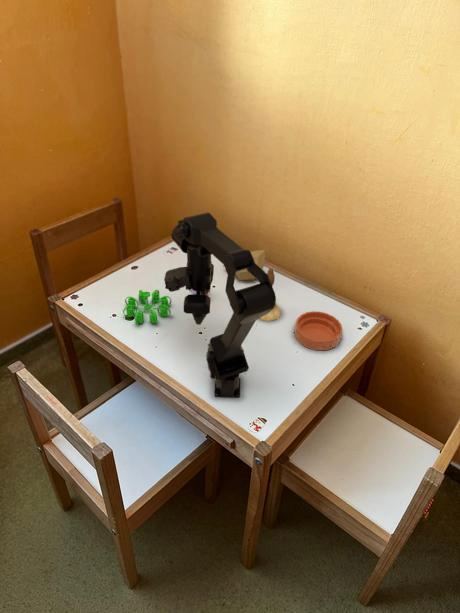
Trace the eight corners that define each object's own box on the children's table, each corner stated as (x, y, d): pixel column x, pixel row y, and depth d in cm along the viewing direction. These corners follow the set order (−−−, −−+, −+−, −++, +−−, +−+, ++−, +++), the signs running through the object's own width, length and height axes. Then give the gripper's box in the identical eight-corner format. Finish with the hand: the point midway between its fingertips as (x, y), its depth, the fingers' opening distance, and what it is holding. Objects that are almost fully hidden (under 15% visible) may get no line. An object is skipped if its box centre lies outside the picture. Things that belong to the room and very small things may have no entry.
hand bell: (257, 322, 140) (261, 279, 130) (250, 305, 147) (254, 262, 137) (284, 319, 142) (290, 276, 132) (276, 302, 148) (281, 260, 138)
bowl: (343, 352, 132) (345, 342, 129) (296, 350, 132) (298, 340, 129) (336, 321, 142) (338, 312, 140) (292, 319, 142) (294, 310, 140)
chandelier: (159, 333, 135) (158, 315, 131) (113, 321, 139) (110, 302, 135) (180, 303, 147) (180, 285, 142) (137, 292, 150) (135, 274, 146)
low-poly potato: (272, 280, 158) (266, 251, 162) (268, 266, 148) (262, 235, 152) (229, 290, 160) (224, 261, 164) (222, 277, 150) (217, 246, 154)
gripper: (170, 241, 120) (173, 290, 130) (160, 284, 106) (164, 335, 116) (214, 243, 120) (213, 291, 130) (209, 286, 106) (209, 337, 116)
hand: (199, 312), depth 123 cm, fingers open, 9 cm apart
